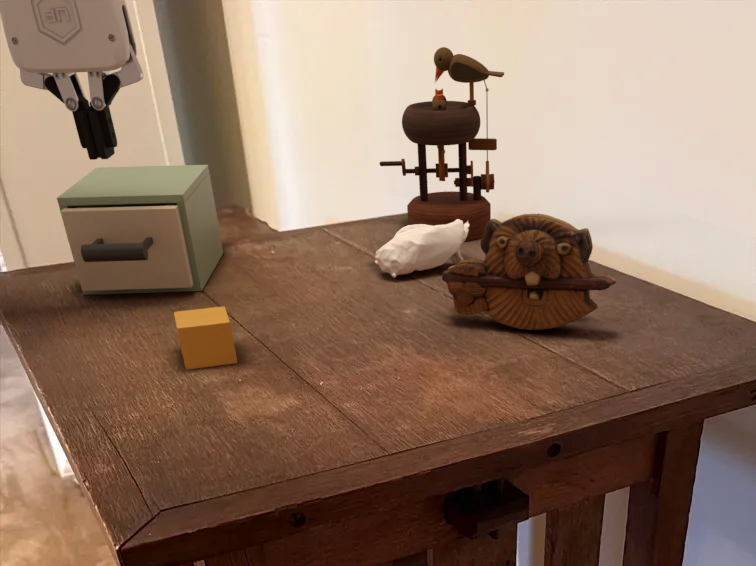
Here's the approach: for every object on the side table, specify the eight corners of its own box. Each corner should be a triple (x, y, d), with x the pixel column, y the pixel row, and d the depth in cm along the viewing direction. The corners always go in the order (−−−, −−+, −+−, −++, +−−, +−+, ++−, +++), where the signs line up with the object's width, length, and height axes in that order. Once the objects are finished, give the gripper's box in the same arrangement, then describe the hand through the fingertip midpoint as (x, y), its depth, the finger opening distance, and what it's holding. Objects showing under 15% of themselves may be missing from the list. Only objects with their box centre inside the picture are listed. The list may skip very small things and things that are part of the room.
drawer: (182, 303, 92) (164, 220, 88) (68, 306, 92) (44, 224, 87) (213, 251, 107) (199, 178, 102) (114, 254, 107) (96, 181, 102)
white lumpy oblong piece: (441, 270, 107) (366, 262, 102) (457, 211, 103) (379, 199, 98) (461, 289, 105) (385, 282, 99) (479, 229, 101) (400, 218, 95)
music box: (492, 216, 122) (495, 39, 108) (510, 246, 114) (516, 58, 100) (378, 223, 119) (367, 43, 106) (389, 253, 111) (377, 63, 98)
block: (187, 378, 79) (176, 328, 77) (184, 360, 83) (173, 311, 80) (239, 371, 80) (230, 321, 78) (233, 354, 84) (224, 305, 81)
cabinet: (201, 291, 98) (182, 194, 92) (83, 294, 98) (56, 197, 92) (223, 253, 110) (207, 164, 104) (117, 256, 109) (95, 167, 103)
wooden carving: (438, 330, 88) (434, 219, 82) (450, 315, 91) (446, 207, 85) (609, 342, 85) (618, 228, 79) (614, 325, 88) (623, 214, 82)
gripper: (-70, -88, 72) (9, 168, 84) (120, -93, 73) (173, 161, 84) (-34, -87, 78) (35, 152, 90) (142, -92, 79) (189, 146, 90)
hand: (102, 156), depth 87 cm, fingers closed
